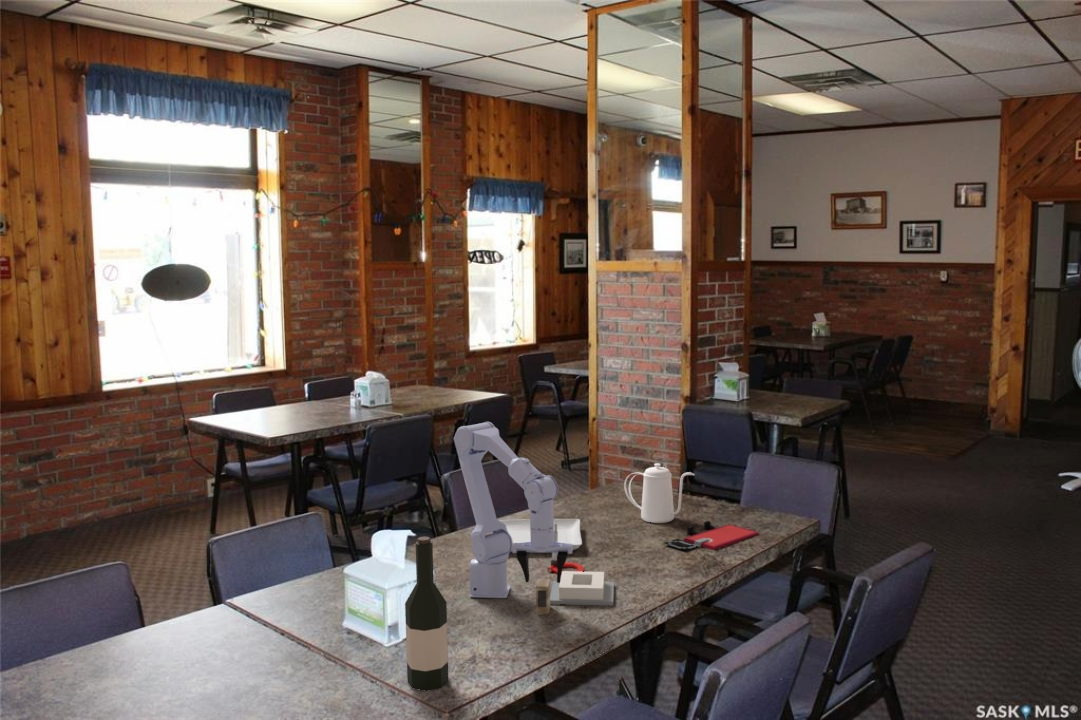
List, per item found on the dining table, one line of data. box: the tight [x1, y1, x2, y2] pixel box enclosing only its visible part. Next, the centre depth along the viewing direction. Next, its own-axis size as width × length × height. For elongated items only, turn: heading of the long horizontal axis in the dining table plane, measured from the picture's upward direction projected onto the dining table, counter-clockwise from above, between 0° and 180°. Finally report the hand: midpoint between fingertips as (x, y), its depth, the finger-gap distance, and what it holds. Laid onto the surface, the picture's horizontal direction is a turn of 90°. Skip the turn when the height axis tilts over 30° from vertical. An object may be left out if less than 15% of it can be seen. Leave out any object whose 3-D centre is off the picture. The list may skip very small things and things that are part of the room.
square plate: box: [498, 518, 583, 553], centre depth 273 cm, size 27×27×4 cm
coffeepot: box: [623, 462, 695, 524], centre depth 294 cm, size 11×25×19 cm, turn 58°
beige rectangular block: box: [535, 578, 551, 615], centre depth 218 cm, size 3×5×7 cm, turn 175°
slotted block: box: [550, 570, 615, 607], centre depth 228 cm, size 16×14×4 cm
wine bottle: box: [404, 536, 449, 692], centre depth 180 cm, size 8×8×30 cm
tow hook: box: [547, 524, 585, 575], centre depth 246 cm, size 8×13×9 cm
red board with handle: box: [663, 520, 760, 551], centre depth 273 cm, size 30×3×15 cm
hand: (543, 581), depth 218 cm, fingers open, 7 cm apart
